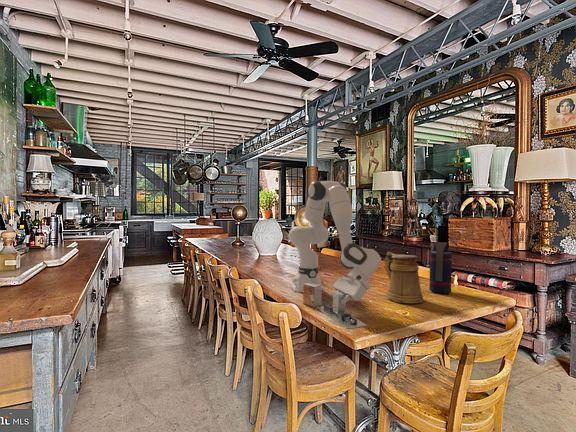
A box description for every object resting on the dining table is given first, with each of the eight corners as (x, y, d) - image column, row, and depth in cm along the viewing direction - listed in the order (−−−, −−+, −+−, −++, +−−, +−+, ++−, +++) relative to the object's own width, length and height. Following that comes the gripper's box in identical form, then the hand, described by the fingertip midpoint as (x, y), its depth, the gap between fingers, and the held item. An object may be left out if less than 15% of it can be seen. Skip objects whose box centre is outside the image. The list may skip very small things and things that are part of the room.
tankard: (410, 306, 169) (411, 258, 168) (373, 296, 188) (374, 252, 187) (429, 301, 179) (430, 255, 179) (393, 291, 198) (393, 250, 198)
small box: (303, 303, 173) (303, 283, 173) (310, 301, 177) (310, 282, 176) (314, 307, 167) (314, 286, 167) (321, 305, 171) (321, 284, 171)
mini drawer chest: (332, 311, 155) (332, 292, 155) (340, 310, 157) (340, 291, 157) (337, 314, 151) (337, 294, 150) (346, 313, 152) (346, 294, 152)
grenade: (430, 288, 206) (431, 240, 205) (452, 291, 200) (453, 241, 199) (427, 293, 194) (428, 242, 193) (449, 296, 188) (451, 244, 187)
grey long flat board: (315, 307, 166) (315, 301, 166) (333, 305, 170) (333, 299, 169) (346, 328, 138) (346, 320, 138) (367, 325, 142) (367, 317, 141)
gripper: (341, 270, 165) (323, 291, 162) (364, 279, 146) (345, 303, 143) (349, 278, 167) (331, 299, 164) (373, 288, 148) (353, 312, 145)
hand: (338, 301), depth 153 cm, fingers closed on mini drawer chest, 5 cm apart
